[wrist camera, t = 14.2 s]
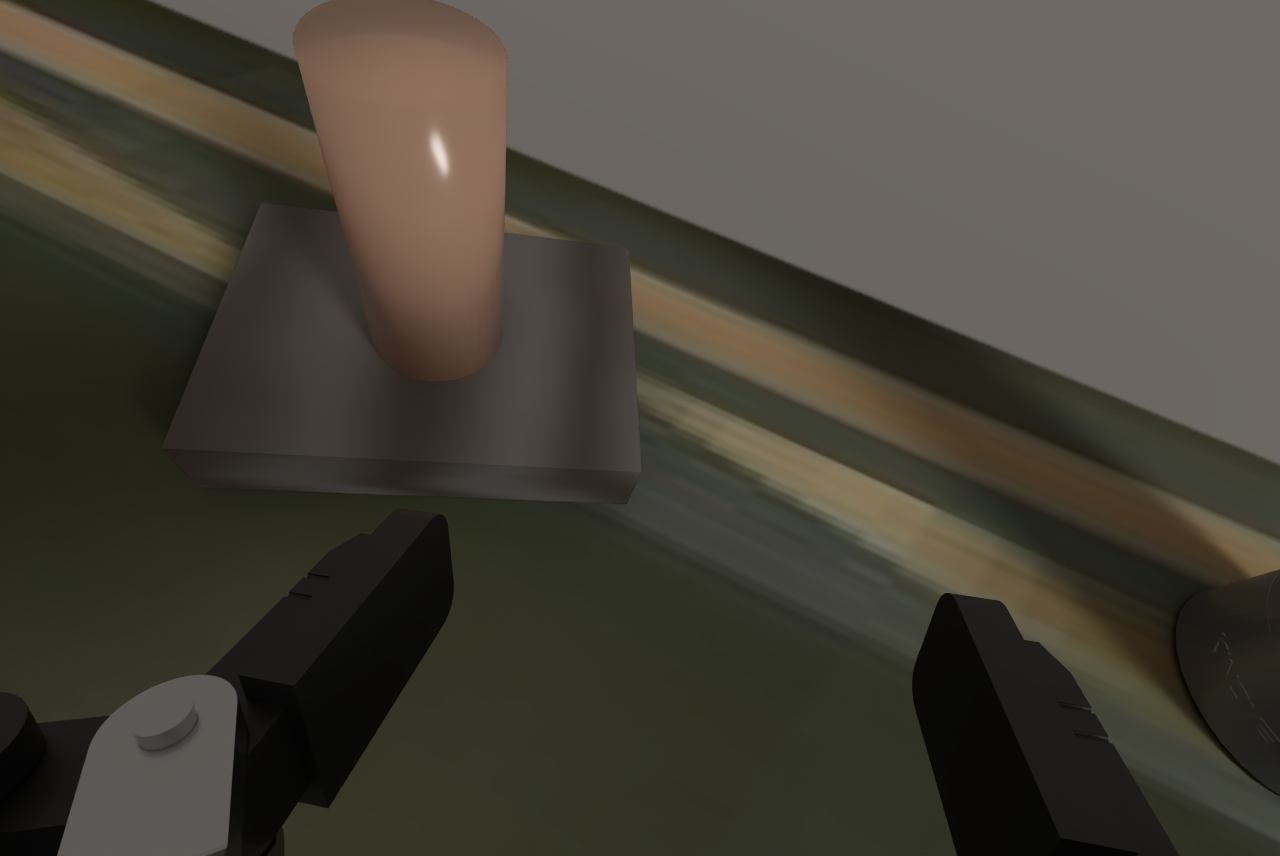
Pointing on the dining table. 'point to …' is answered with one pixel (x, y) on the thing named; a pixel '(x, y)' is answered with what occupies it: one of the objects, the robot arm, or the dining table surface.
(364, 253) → the terracotta cylinder
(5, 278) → the dining table surface
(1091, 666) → the dining table surface
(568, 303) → the plinth
